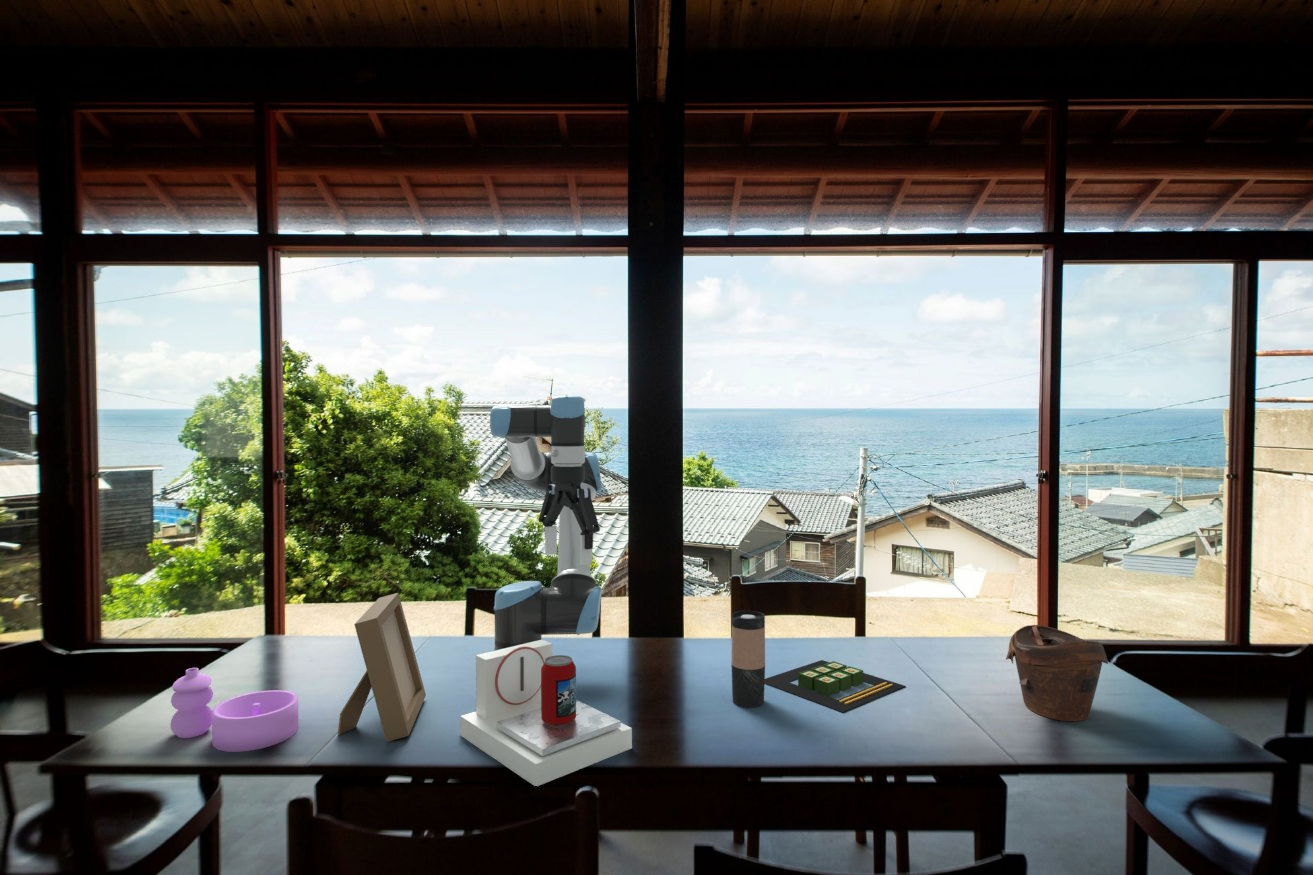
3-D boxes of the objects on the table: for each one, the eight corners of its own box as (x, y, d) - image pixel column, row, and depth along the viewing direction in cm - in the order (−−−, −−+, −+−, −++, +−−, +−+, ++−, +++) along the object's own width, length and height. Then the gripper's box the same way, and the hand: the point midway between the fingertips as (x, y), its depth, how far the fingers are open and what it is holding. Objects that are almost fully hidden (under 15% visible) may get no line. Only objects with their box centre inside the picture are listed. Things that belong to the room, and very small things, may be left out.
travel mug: (769, 698, 163) (769, 612, 163) (759, 710, 156) (759, 620, 156) (737, 693, 166) (737, 608, 166) (726, 704, 160) (726, 616, 159)
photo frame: (426, 699, 163) (423, 591, 162) (408, 740, 141) (406, 616, 141) (358, 704, 160) (356, 594, 160) (330, 746, 139) (327, 620, 138)
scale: (460, 735, 144) (460, 652, 143) (550, 706, 158) (550, 631, 158) (535, 786, 123) (535, 690, 123) (631, 748, 138) (631, 662, 138)
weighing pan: (496, 727, 137) (496, 721, 137) (572, 703, 149) (572, 697, 149) (542, 755, 125) (542, 749, 125) (620, 727, 137) (620, 720, 137)
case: (1020, 686, 171) (1021, 613, 170) (1117, 710, 156) (1118, 630, 156) (992, 708, 158) (993, 629, 158) (1094, 736, 144) (1095, 649, 143)
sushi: (842, 716, 155) (843, 699, 155) (758, 684, 174) (758, 669, 174) (905, 689, 171) (905, 674, 171) (821, 663, 190) (821, 649, 190)
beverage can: (569, 729, 133) (569, 666, 133) (535, 726, 134) (535, 664, 134) (580, 715, 140) (580, 655, 140) (548, 712, 141) (548, 653, 141)
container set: (313, 720, 151) (312, 659, 151) (269, 753, 136) (269, 685, 136) (201, 717, 153) (201, 657, 153) (146, 749, 138) (145, 682, 137)
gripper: (523, 462, 165) (524, 552, 166) (587, 469, 147) (587, 570, 147) (550, 461, 170) (550, 548, 171) (615, 467, 152) (615, 565, 152)
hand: (568, 558), depth 159 cm, fingers open, 13 cm apart
